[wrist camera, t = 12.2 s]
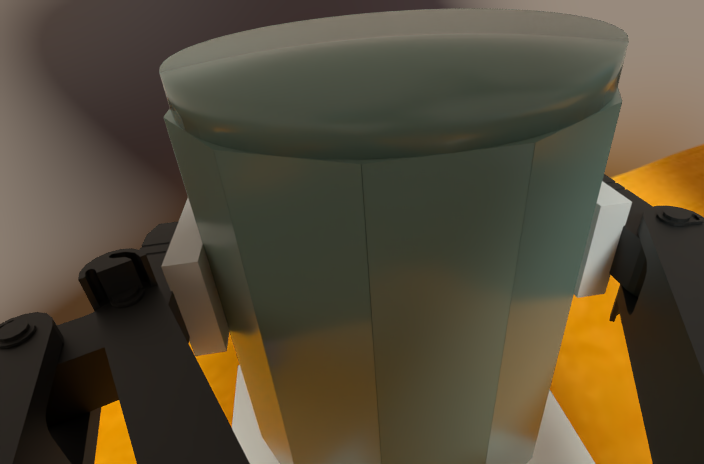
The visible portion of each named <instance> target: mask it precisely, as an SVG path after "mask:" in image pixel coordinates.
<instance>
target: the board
mask: <svg viewBox="0 0 704 464" xmlns="http://www.w3.org/2000/svg"><path fill="white" fill-rule="evenodd" d="M232 430H233V432H234V434H235V436H236V437H237V439H238V441H239V443H240V445H241V447H242V449H243V451H244V453H245V455H246V457H247V459H248V461H249V463H250V464H280V463H279V462H278V460H277V459H276V457H275V456H274V454H273V453H272V451H271V450H270V448H269V447H268V445H267V444H266V442H265V441H264V439H263V438H262V436H261V432H260V429H259V426H258V423H257V419H256V416H255V413H254V410H253V406H252V403H251V400H250V397H249V393H248V390H247V387H246V384H245V380H244V377H243V374H242V371H241V367H240V365H238V372H237V382H236V392H235V401H234V411H233V421H232ZM527 464H595V462H594V461H593V459H592V457H591V456H590V454H589V453H588V451H587V449H586V448H585V446H584V444H583V443H582V441H581V440H580V438H579V436H578V435H577V433H576V431H575V430H574V428H573V427H572V425H571V423H570V422H569V420H568V418H567V417H566V415H565V414H564V412H563V410H562V409H561V407H560V405H559V404H558V402H557V401H556V399H555V397H554V396H553V394H552V393H551V391H550V389H549V393H548V397H547V401H546V405H545V409H544V413H543V417H542V421H541V425H540V429H539V433H538V437H537V441H536V445H535V449H534V453H533V457H532V458H531V459H530V461H529V462H528V463H527Z"/></svg>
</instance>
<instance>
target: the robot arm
mask: <svg viewBox="0 0 704 464" xmlns="http://www.w3.org/2000/svg"><path fill="white" fill-rule="evenodd" d="M610 274H611V275H612V276H613V277H614V278H615V279H616V280H617V281H618V282H619V283H620V287H619V290H618V293H617V296H616V299H615V302H614V305H613V309H612V312H611V315H610V321H613V322H614V321H615V318H616V316H617V315H618V314H620V316H621V323H622V325H623V330H624V335H625V339H626V344H627V348H628V353H629V357H630V362H631V366H632V371H633V376H634V380H635V385H636V389H637V394H638V398H639V403H640V407H641V412H642V416H643V421H644V426H645V430H646V435H647V439H648V444H649V448H650V453H651V457H652V462H653V464H704V218H703V217H702V216H700V215H699V214H697V213H695V212H693V211H690V210H686V209H683V208H679V207H673V206H654V207H652V206H651V205H649V204H648V203H647V202H645V201H644V200H642V199H641V198H639V197H638V196H636V195H635V194H633V193H632V192H630V191H629V190H625V188H624V187H623V186H621V185H620V184H618V183H615V181H614V180H612V179H611V178H609V177H608V176H606V175H605V174H604V176H603V180H602V183H601V187H600V191H599V195H598V199H597V203H596V207H595V211H594V215H593V219H592V223H591V227H590V231H589V235H588V239H587V243H586V247H585V251H584V255H583V259H582V263H581V267H580V271H579V275H578V279H577V282H576V286H575V290H574V294H575V296H576V297H577V298H578V297H584V296H591V295H598V294H604V293H605V291H606V287H607V284H608V281H609V277H610ZM79 282H80V284H81V286H82V287H83V289H84V291H85V293H86V295H87V297H88V299H89V301H90V303H91V305H92V307H93V309H94V311H95V312H93V313H91V314H89V315H86V316H84V317H81V318H78V319H75V320H72V321H69V322H66V323H63V324H61V325H56V323H55V322H54V320H53V319H52V317H50V316H49V315H48V314H47V313H39V312H35V313H29V314H24V315H21V316H18V317H15V318H11V319H9V320H7V321H5V322H3V323H2V324H0V464H94V461H95V453H96V445H97V437H98V429H99V421H100V413H101V407H102V406H105V405H107V404H110V403H112V402H114V401H117V400H119V401H120V404H121V408H122V411H123V415H124V419H125V422H126V426H127V429H128V433H129V436H130V440H131V444H132V447H133V451H134V454H135V458H136V461H137V464H250V463H249V461H248V459H247V457H246V455H245V453H244V451H243V449H242V447H241V445H240V443H239V441H238V439H237V437H236V436H235V434H234V432H233V430H232V428H231V426H230V424H229V422H228V420H227V418H226V416H225V414H224V412H223V410H222V408H221V406H220V404H219V402H218V401H217V399H216V397H215V395H214V393H213V391H212V389H211V387H210V385H209V383H208V381H207V379H206V377H205V375H204V373H203V371H202V369H201V367H200V365H199V364H198V362H197V360H196V358H195V356H198V355H205V354H211V353H218V352H224V351H227V344H228V337H229V328H228V324H227V321H226V318H225V315H224V311H223V308H222V305H221V302H220V298H219V295H218V292H217V289H216V285H215V282H214V279H213V276H212V272H211V269H210V266H209V263H208V259H207V256H206V253H205V250H204V246H203V243H202V241H201V237H200V234H199V231H198V228H197V224H196V221H195V218H194V215H193V211H192V208H191V205H190V202H189V198H188V199H187V202H186V204H185V207H184V209H183V212H182V214H181V217H180V220H179V222H172V223H164V224H159V225H158V226H156V227H155V228H154V229H153V230H152V231H151V232H150V233H148V234H147V236H146V238H145V240H144V242H143V244H142V248H140V250H136V249H120V250H116V251H112V252H108V253H106V254H104V255H102V256H99V257H97V258H95V259H94V260H92V261H91V262H89V263H88V264H86V265H85V267H84V268H83V269H82V270H81V271H80V273H79ZM189 341H190V344H191V346H192V349H193V351H194V354H195V356H194V354H193V352H192V350H191V348H190V346H189V344H188V343H189Z"/></svg>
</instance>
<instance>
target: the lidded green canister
mask: <svg viewBox="0 0 704 464" xmlns="http://www.w3.org/2000/svg"><path fill="white" fill-rule="evenodd" d="M627 46H628V35H627V34H626V33H625V32H624V31H623V30H622V29H620V28H618V27H616V26H614V25H612V24H609V23H606V22H604V21H601V20H596V19H592V18H588V17H582V16H577V15H571V14H563V13H555V12H544V11H531V10H514V9H428V10H407V11H393V12H378V13H366V14H355V15H346V16H337V17H327V18H320V19H312V20H305V21H299V22H291V23H286V24H279V25H273V26H268V27H262V28H257V29H253V30H248V31H244V32H239V33H235V34H231V35H226V36H223V37H219V38H215V39H212V40H209V41H205V42H203V43H199V44H196V45H194V46H191V47H189V48H186V49H184V50H182V51H180V52H178V53H176V54H174V55H172V56H171V57H169V58H168V59H166V60H165V61H164V62H163V63H162V65H161V66H160V71H159V73H160V76H161V80H162V83H163V86H164V90H165V93H166V96H167V100H168V103H169V107H170V109H169V111H168V112H167V113H166V115H165V116H164V120H165V123H166V127H167V130H168V133H169V136H170V140H171V143H172V146H173V149H174V153H175V156H176V159H177V162H178V166H179V169H180V172H181V175H182V179H183V182H184V185H185V188H186V191H187V195H188V198H189V202H190V205H191V208H192V211H193V215H194V218H195V221H196V224H197V228H198V231H199V234H200V237H201V241H202V243H203V246H204V250H205V253H206V256H207V259H208V263H209V266H210V269H211V272H212V276H213V279H214V282H215V285H216V289H217V292H218V295H219V298H220V302H221V305H222V308H223V311H224V315H225V318H226V321H227V324H228V328H229V332H230V335H231V338H232V341H233V345H234V348H235V351H236V354H237V358H238V361H239V364H240V367H241V371H242V374H243V377H244V380H245V384H246V387H247V390H248V393H249V397H250V400H251V403H252V406H253V410H254V413H255V416H256V419H257V423H258V426H259V429H260V432H261V436H262V438H263V439H264V441H265V442H266V444H267V445H268V447H269V448H270V450H271V451H272V453H273V454H274V456H275V457H276V459H277V460H278V462H279V463H280V464H527V463H528V462H529V461H530V459H531V458H532V457H533V453H534V449H535V445H536V441H537V437H538V433H539V429H540V425H541V421H542V417H543V413H544V409H545V405H546V401H547V397H548V393H549V389H550V385H551V381H552V378H553V374H554V370H555V366H556V362H557V358H558V354H559V350H560V346H561V342H562V338H563V334H564V330H565V326H566V322H567V318H568V314H569V310H570V306H571V302H572V298H573V294H574V290H575V286H576V282H577V279H578V275H579V271H580V267H581V263H582V259H583V255H584V251H585V247H586V243H587V239H588V235H589V231H590V227H591V223H592V219H593V215H594V211H595V207H596V203H597V199H598V195H599V191H600V187H601V183H602V180H603V176H604V172H605V167H606V164H607V160H608V156H609V152H610V148H611V144H612V140H613V136H614V132H615V128H616V124H617V120H618V116H619V112H620V107H621V104H622V99H621V96H620V92H619V89H618V83H619V79H620V75H621V70H622V66H623V62H624V58H625V54H626V50H627Z"/></svg>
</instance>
